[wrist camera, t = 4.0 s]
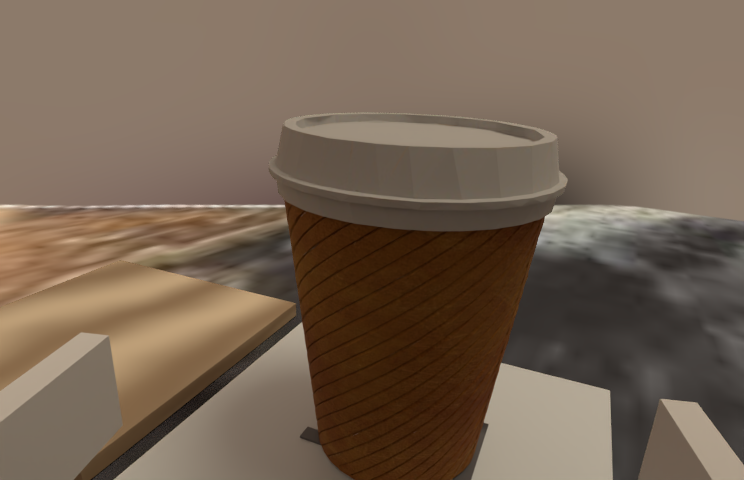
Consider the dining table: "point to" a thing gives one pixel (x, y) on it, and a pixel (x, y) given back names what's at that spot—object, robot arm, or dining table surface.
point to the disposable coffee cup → (410, 276)
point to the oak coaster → (141, 338)
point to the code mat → (320, 476)
